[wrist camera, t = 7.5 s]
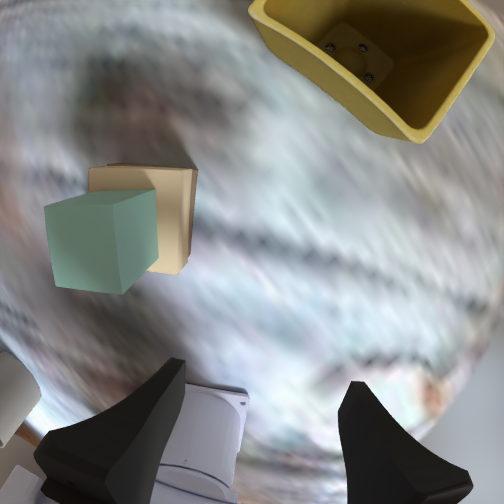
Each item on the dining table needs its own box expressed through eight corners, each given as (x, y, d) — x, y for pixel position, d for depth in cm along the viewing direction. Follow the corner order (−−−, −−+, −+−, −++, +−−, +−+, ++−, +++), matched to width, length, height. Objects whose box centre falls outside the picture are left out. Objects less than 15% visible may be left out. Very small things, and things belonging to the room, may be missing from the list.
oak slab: (187, 261, 20) (177, 275, 18) (107, 251, 20) (91, 262, 18) (192, 168, 18) (181, 170, 16) (107, 165, 18) (89, 168, 16)
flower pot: (254, 68, 17) (240, 9, 9) (329, -9, 15) (356, -82, 6) (359, 150, 19) (421, 149, 10) (426, 67, 16) (499, 34, 8)
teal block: (159, 258, 17) (122, 294, 13) (101, 254, 18) (55, 286, 13) (155, 189, 16) (113, 204, 11) (96, 190, 16) (44, 206, 12)
